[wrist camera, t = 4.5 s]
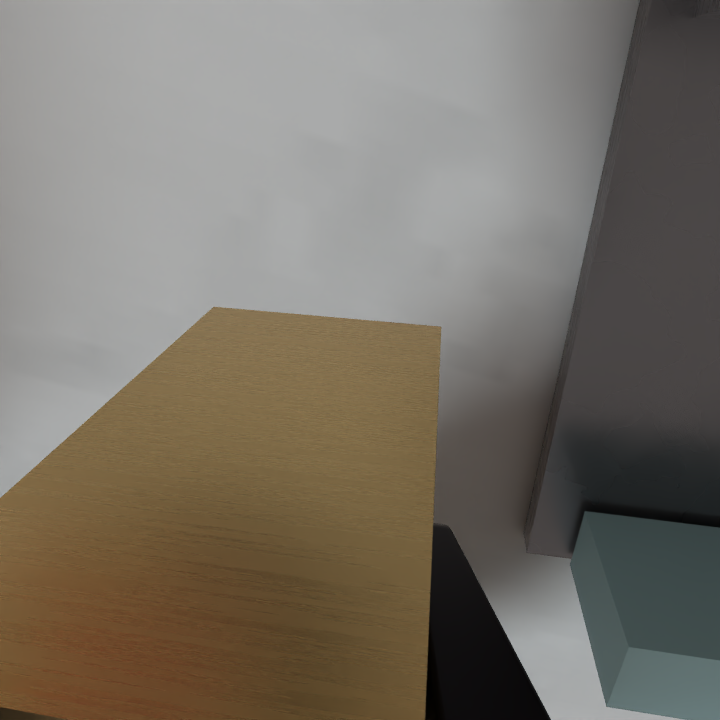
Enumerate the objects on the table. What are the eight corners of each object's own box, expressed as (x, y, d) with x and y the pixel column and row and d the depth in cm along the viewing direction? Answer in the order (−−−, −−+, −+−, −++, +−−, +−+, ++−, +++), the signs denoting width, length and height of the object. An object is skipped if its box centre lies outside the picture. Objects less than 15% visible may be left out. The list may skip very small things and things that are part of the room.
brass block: (440, 326, 8) (420, 786, 3) (410, 609, 11) (370, 1123, 5) (214, 306, 8) (-191, 671, 3) (239, 584, 11) (43, 1036, 6)
